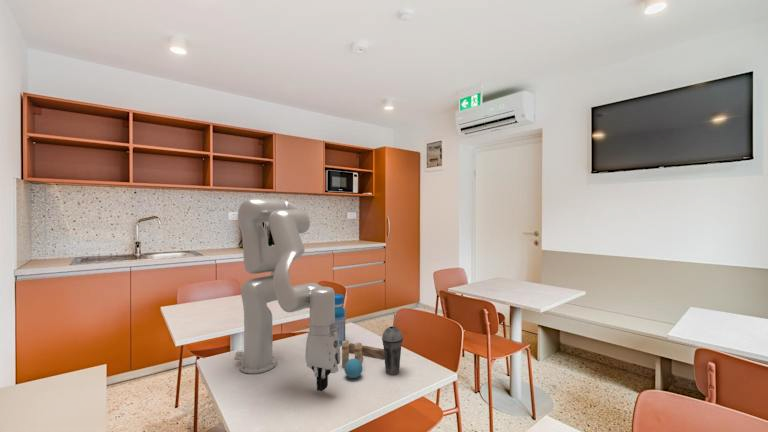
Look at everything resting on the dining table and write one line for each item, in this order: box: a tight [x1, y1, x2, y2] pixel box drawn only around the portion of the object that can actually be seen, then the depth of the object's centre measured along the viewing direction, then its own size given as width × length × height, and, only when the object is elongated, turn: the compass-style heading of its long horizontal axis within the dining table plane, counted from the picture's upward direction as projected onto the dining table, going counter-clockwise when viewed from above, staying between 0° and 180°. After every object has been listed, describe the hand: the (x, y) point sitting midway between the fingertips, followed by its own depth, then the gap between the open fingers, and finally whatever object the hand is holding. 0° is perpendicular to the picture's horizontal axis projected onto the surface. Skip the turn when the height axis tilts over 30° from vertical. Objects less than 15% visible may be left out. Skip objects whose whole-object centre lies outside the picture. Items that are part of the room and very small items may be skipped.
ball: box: [343, 358, 363, 379], centre depth 111 cm, size 6×6×6 cm
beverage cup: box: [381, 313, 404, 376], centre depth 115 cm, size 7×7×20 cm
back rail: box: [349, 342, 385, 361], centre depth 129 cm, size 16×2×3 cm, turn 66°
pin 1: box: [341, 339, 350, 369], centre depth 119 cm, size 2×2×9 cm
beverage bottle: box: [335, 293, 347, 346], centre depth 141 cm, size 8×8×20 cm
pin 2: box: [354, 342, 363, 365], centre depth 117 cm, size 2×2×9 cm
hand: (322, 388), depth 101 cm, fingers closed
